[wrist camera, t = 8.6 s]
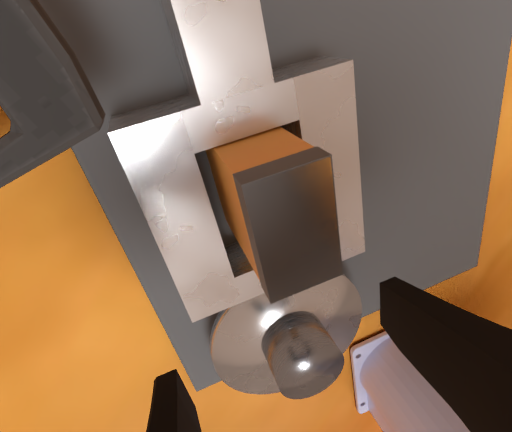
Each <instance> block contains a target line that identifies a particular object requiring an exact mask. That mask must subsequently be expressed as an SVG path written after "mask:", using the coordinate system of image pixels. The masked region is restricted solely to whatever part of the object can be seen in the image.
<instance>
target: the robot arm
mask: <svg viewBox="0 0 512 432" xmlns="http://www.w3.org/2000/svg"><path fill="white" fill-rule="evenodd" d="M379 285H380V322H381V325H382V327H383V328H384V329H385V331H384V332H382V333H380V334H378V335H376V336H373V337H371V338H369V339H367V340H365V341H363V342H360V343H358V344H356V345H354V346H353V347H352V348H351V350H350V354H351V363H352V372H353V381H354V390H355V399H356V408H357V411H358V412H359V413H360V414H362V413H365V412H367V411H370V412H371V414H372V415H373V417H374V418H375V420H376V422H377V423H378V425H379V426H380V428H381V429H382V431H383V432H512V329H509V328H506V327H504V326H501V325H499V324H496V323H494V322H491V321H489V320H487V319H484V318H482V317H479V316H477V315H475V314H472V313H470V312H468V311H466V310H463V309H461V308H459V307H457V306H455V305H452V304H450V303H448V302H446V301H444V300H442V299H440V298H438V297H436V296H434V295H432V294H429V293H427V292H425V291H423V290H421V289H419V288H417V287H415V286H413V285H411V284H409V283H407V282H405V281H403V280H401V279H399V278H397V277H392V278H390V279H387V280H385V281H383V282H380V283H379ZM146 432H201V428H200V424H199V420H198V416H197V411H196V407H195V405H194V403H193V401H192V399H191V397H190V395H189V393H188V391H187V389H186V388H185V386H184V384H183V382H182V380H181V378H180V376H179V374H178V372H177V370H176V369H175V370H172V371H170V372H167V373H165V374H163V375H160V376H158V377H156V379H155V380H154V387H153V395H152V402H151V408H150V414H149V420H148V425H147V430H146Z"/></svg>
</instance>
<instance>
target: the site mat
mask: <svg viewBox="0 0 512 432" xmlns="http://www.w3.org/2000/svg"><path fill="white" fill-rule="evenodd" d="M38 1H39V3H40V4H41V6H42V7H43V8H44V10H45V11H46V13H47V14H48V16H49V17H50V18H51V20H52V21H53V23H54V24H55V26H56V27H57V28H58V30H59V31H60V33H61V34H62V36H63V37H64V38H65V40H66V41H67V43H68V44H69V45H70V47H71V48H72V50H73V51H74V53H75V54H76V56H77V58H78V60H79V62H80V64H81V66H82V68H83V70H84V72H85V74H86V76H87V78H88V80H89V82H90V84H91V86H92V88H93V90H94V92H95V94H96V96H97V98H98V100H99V102H100V104H101V106H102V108H103V110H104V112H105V118H104V122H103V125H102V127H101V129H100V131H98V132H96V133H95V134H93V135H91V136H89V137H88V138H86V139H84V140H82V141H81V142H79V143H77V144H76V145H74V146H72V147H71V148H72V150H73V152H74V154H75V156H76V158H77V160H78V162H79V164H80V166H81V168H82V169H83V171H84V173H85V175H86V177H87V179H88V181H89V183H90V185H91V187H92V189H93V191H94V193H95V195H96V197H97V199H98V201H99V203H100V205H101V206H102V208H103V210H104V212H105V214H106V216H107V218H108V220H109V222H110V224H111V226H112V228H113V230H114V232H115V234H116V236H117V238H118V240H119V242H120V243H121V245H122V247H123V249H124V251H125V253H126V255H127V257H128V259H129V261H130V263H131V265H132V267H133V269H134V271H135V273H136V275H137V277H138V279H139V280H140V282H141V284H142V286H143V288H144V290H145V292H146V294H147V296H148V298H149V300H150V302H151V304H152V306H153V308H154V310H155V312H156V314H157V315H158V317H159V319H160V321H161V323H162V325H163V327H164V329H165V331H166V333H167V335H168V337H169V339H170V341H171V343H172V345H173V347H174V349H175V351H176V352H177V354H178V356H179V358H180V360H181V362H182V364H183V366H184V368H185V370H186V372H187V374H188V376H189V378H190V380H191V382H192V384H193V386H194V388H195V389H196V391H199V390H201V389H204V388H206V387H208V386H210V385H213V384H215V383H217V382H219V381H222V379H221V378H220V377H219V376H218V374H217V372H216V370H215V367H214V364H213V361H212V357H211V354H210V347H209V342H210V334H211V329H212V326H213V324H214V321H215V319H216V317H217V315H218V313H219V312H217V313H215V314H213V315H210V316H208V317H205V318H203V319H200V320H198V321H196V322H193V323H192V321H191V319H190V316H189V314H188V312H187V310H186V308H185V305H184V303H183V301H182V299H181V296H180V294H179V292H178V290H177V287H176V285H175V283H174V281H173V278H172V276H171V274H170V272H169V269H168V267H167V265H166V263H165V260H164V258H163V256H162V254H161V252H160V249H159V247H158V245H157V243H156V240H155V238H154V236H153V234H152V231H151V229H150V227H149V225H148V222H147V220H146V218H145V216H144V213H143V211H142V209H141V207H140V205H139V202H138V200H137V198H136V196H135V193H134V191H133V189H132V187H131V184H130V182H129V180H128V178H127V175H126V173H125V171H124V169H123V166H122V164H121V162H120V160H119V157H118V155H117V153H116V151H115V149H114V146H113V144H112V142H111V140H110V137H109V135H108V127H109V120H110V116H113V115H116V114H120V113H123V112H127V111H130V110H134V109H137V108H140V107H144V106H147V105H151V104H154V103H158V102H161V101H164V100H168V99H171V98H175V97H178V96H182V95H185V94H188V91H187V88H186V84H185V81H184V78H183V74H182V71H181V68H180V65H179V61H178V58H177V55H176V51H175V48H174V45H173V42H172V38H171V35H170V32H169V28H168V25H167V22H166V19H165V15H164V12H163V9H162V5H161V2H160V0H38ZM260 4H261V10H262V16H263V21H264V27H265V33H266V38H267V44H268V50H269V55H270V61H271V67H272V69H274V68H278V67H281V66H285V65H288V64H291V63H295V62H298V61H302V60H305V59H309V58H312V57H316V56H326V57H335V58H343V59H352V60H353V64H354V80H355V96H356V112H357V128H358V144H359V159H360V175H361V191H362V207H363V223H364V239H365V252H363V253H361V254H358V255H356V256H353V257H351V258H349V259H346V260H344V261H342V268H343V274H344V275H345V276H346V277H347V278H348V279H349V280H350V281H351V283H352V284H353V285H354V286H355V287H356V289H357V291H358V292H359V295H360V298H361V303H362V315H361V318H362V317H364V316H366V315H369V314H371V313H373V312H375V311H378V310H380V285H379V283H380V282H383V281H385V280H387V279H390V278H392V277H397V278H399V279H401V280H403V281H405V282H407V283H409V284H411V285H413V286H415V287H417V288H419V289H421V290H424V289H427V288H429V287H431V286H433V285H436V284H438V283H440V282H442V281H444V280H447V279H449V278H451V277H453V276H456V275H458V274H460V273H462V272H464V271H467V270H469V269H471V268H473V267H476V266H477V264H478V257H479V250H480V244H481V237H482V231H483V224H484V217H485V211H486V204H487V197H488V191H489V184H490V178H491V171H492V164H493V158H494V151H495V144H496V138H497V131H498V124H499V118H500V111H501V105H502V98H503V91H504V85H505V78H506V71H507V65H508V58H509V52H510V45H511V38H512V0H260ZM194 155H195V158H196V161H197V164H198V167H199V170H200V173H201V176H202V179H203V182H204V185H205V189H206V192H207V195H208V198H209V201H210V204H211V207H212V210H213V213H214V216H215V219H216V223H217V226H218V229H219V232H220V235H221V238H222V241H223V244H224V245H226V244H228V243H231V242H234V241H236V240H237V239H236V237H235V236H234V234H233V232H232V230H231V228H230V227H229V225H228V223H227V221H226V219H225V216H224V212H223V209H222V205H221V202H220V198H219V195H218V192H217V188H216V185H215V181H214V178H213V174H212V171H211V168H210V164H209V161H208V157H207V154H206V150H204V151H201V152H198V153H195V154H194Z"/></svg>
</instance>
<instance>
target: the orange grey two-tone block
mask: <svg viewBox="0 0 512 432" xmlns="http://www.w3.org/2000/svg"><path fill="white" fill-rule="evenodd" d="M206 154H207V157H208V161H209V164H210V168H211V171H212V174H213V178H214V181H215V185H216V188H217V192H218V195H219V198H220V202H221V205H222V209H223V212H224V216H225V219H226V221H227V223H228V225H229V227H230V228H231V230H232V232H233V234H234V236H235V237H236V239H237V241H238V243H239V245H240V246H241V248H242V250H243V252H244V254H245V255H246V257H247V259H248V261H249V263H250V264H251V266H252V268H253V270H254V272H255V273H256V275H257V277H258V279H259V281H260V282H261V286H262V289H263V291H264V293H265V294H266V296H267V298H268V300H269V302H270V304H272V303H275V302H277V301H280V300H282V299H284V298H287V297H289V296H292V295H294V294H297V293H299V292H302V291H304V290H306V289H309V288H311V287H314V286H316V285H319V284H321V283H324V282H326V281H328V280H331V279H333V278H336V277H338V276H341V275H343V268H342V257H341V247H340V236H339V226H338V215H337V204H336V194H335V183H334V173H333V162H332V154H330V153H328V152H326V151H325V150H323V149H321V148H320V147H318V146H316V147H314V146H312V145H310V144H309V143H307V142H305V141H304V140H302V139H300V138H298V137H297V136H295V135H293V134H292V133H290V132H288V131H287V130H285V129H283V128H282V127H280V126H279V127H276V128H272V129H269V130H266V131H263V132H260V133H257V134H254V135H251V136H248V137H245V138H242V139H238V140H235V141H232V142H229V143H226V144H223V145H220V146H217V147H214V148H211V149H208V150H206Z"/></svg>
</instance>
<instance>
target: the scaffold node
mask: <svg viewBox="0 0 512 432" xmlns="http://www.w3.org/2000/svg"><path fill="white" fill-rule="evenodd" d="M160 2H161V5H162V9H163V12H164V15H165V19H166V22H167V25H168V28H169V32H170V35H171V38H172V42H173V45H174V48H175V51H176V55H177V58H178V61H179V65H180V68H181V71H182V74H183V78H184V81H185V84H186V88H187V91H188V94H185V95H182V96H178V97H175V98H171V99H168V100H164V101H161V102H158V103H154V104H151V105H147V106H144V107H140V108H137V109H134V110H130V111H127V112H123V113H120V114H116V115H113V116H110V120H109V127H108V135H109V137H110V140H111V142H112V144H113V146H114V149H115V151H116V153H117V155H118V157H119V160H120V162H121V164H122V166H123V169H124V171H125V173H126V175H127V178H128V180H129V182H130V184H131V187H132V189H133V191H134V193H135V196H136V198H137V200H138V202H139V205H140V207H141V209H142V211H143V213H144V216H145V218H146V220H147V222H148V225H149V227H150V229H151V231H152V234H153V236H154V238H155V240H156V243H157V245H158V247H159V249H160V252H161V254H162V256H163V258H164V260H165V263H166V265H167V267H168V269H169V272H170V274H171V276H172V278H173V281H174V283H175V285H176V287H177V290H178V292H179V294H180V296H181V299H182V301H183V303H184V305H185V308H186V310H187V312H188V314H189V316H190V319H191V321H192V323H193V322H196V321H198V320H200V319H203V318H205V317H208V316H210V315H213V314H215V313H217V312H219V313H218V315H217V317H216V319H215V321H214V324H213V326H212V329H211V334H210V342H209V347H210V354H211V357H212V361H213V364H214V367H215V370H216V372H217V374H218V376H219V377H220V378H221V379H222V381H223V382H224V383H226V384H227V385H228V386H230V387H232V388H233V389H235V390H238V391H241V392H244V393H250V394H271V393H277V392H281V393H282V394H283V395H284V396H285V397H287V398H291V399H303V398H308V397H311V396H313V395H316V394H318V393H320V392H321V391H323V390H325V389H326V388H327V387H329V386H330V385H331V384H332V383H333V382H334V381H335V380H336V379H337V377H338V376H339V374H340V373H341V371H342V369H343V365H344V356H343V353H344V352H345V351H346V349H347V348H348V346H349V345H350V344H351V342H352V340H353V338H354V337H355V335H356V332H357V330H358V328H359V324H360V321H361V315H362V303H361V298H360V295H359V292H358V291H357V289H356V287H355V286H354V285H353V284H352V283H351V281H350V280H349V279H348V278H347V277H346V276H345V275H344V274H343V275H341V276H338V277H336V278H333V279H331V280H328V281H326V282H324V283H321V284H319V285H316V286H314V287H311V288H309V289H306V290H304V291H302V292H299V293H297V294H294V295H292V296H289V297H287V298H284V299H282V300H280V301H277V302H275V303H272V304H270V302H269V300H268V298H267V296H266V294H265V293H264V291H263V289H262V286H261V282H260V281H259V279H258V277H257V275H256V273H255V272H254V270H253V268H252V266H251V264H250V263H249V261H248V259H247V257H246V255H245V254H244V252H243V250H242V248H241V246H240V245H239V243H238V241H237V240H236V241H234V242H231V243H228V244H226V245H224V244H223V241H222V238H221V235H220V232H219V229H218V226H217V223H216V219H215V216H214V213H213V210H212V207H211V204H210V201H209V198H208V195H207V192H206V189H205V185H204V182H203V179H202V176H201V173H200V170H199V167H198V164H197V161H196V158H195V155H194V154H195V153H198V152H201V151H204V150H208V149H211V148H214V147H217V146H220V145H223V144H226V143H229V142H232V141H235V140H238V139H242V138H245V137H248V136H251V135H254V134H257V133H260V132H263V131H266V130H269V129H272V128H276V127H279V126H280V127H282V128H283V129H285V130H287V131H288V132H290V133H292V134H293V135H295V136H297V137H298V138H300V139H302V140H304V141H305V142H307V143H309V144H310V145H312V146H314V147H316V146H318V147H320V148H321V149H323V150H325V151H326V152H328V153H330V154H332V162H333V173H334V183H335V194H336V204H337V215H338V226H339V236H340V247H341V257H342V261H344V260H346V259H349V258H351V257H353V256H356V255H358V254H361V253H363V252H365V239H364V223H363V207H362V191H361V175H360V159H359V144H358V128H357V112H356V96H355V80H354V64H353V60H352V59H343V58H335V57H326V56H316V57H312V58H309V59H305V60H302V61H298V62H295V63H291V64H288V65H285V66H281V67H278V68H274V69H272V67H271V61H270V55H269V50H268V44H267V38H266V33H265V27H264V21H263V16H262V10H261V4H260V0H160Z"/></svg>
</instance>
